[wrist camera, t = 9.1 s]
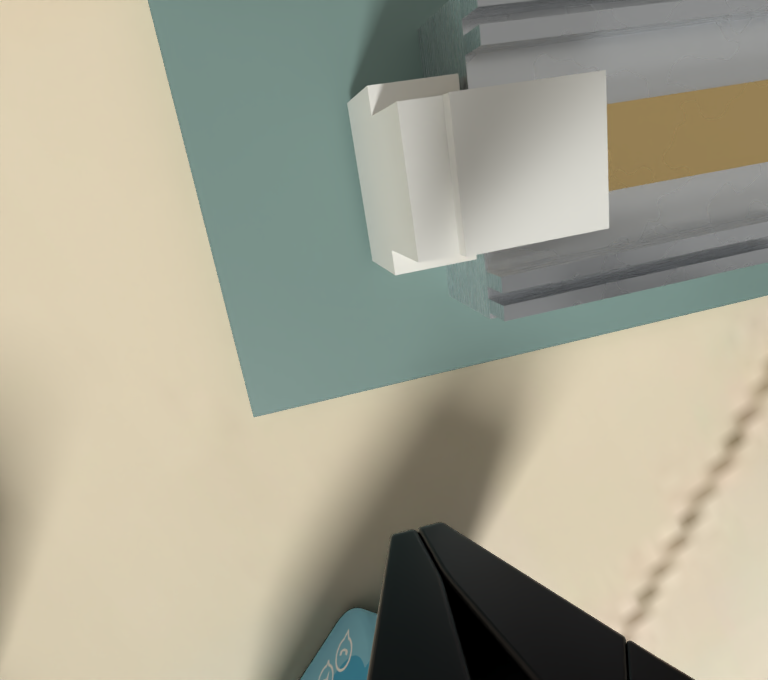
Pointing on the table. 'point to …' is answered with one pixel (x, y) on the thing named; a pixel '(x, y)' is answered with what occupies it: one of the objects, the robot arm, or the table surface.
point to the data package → (345, 649)
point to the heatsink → (623, 83)
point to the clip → (479, 166)
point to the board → (338, 206)
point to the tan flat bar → (686, 134)
